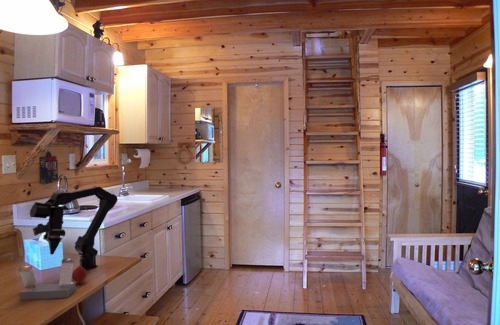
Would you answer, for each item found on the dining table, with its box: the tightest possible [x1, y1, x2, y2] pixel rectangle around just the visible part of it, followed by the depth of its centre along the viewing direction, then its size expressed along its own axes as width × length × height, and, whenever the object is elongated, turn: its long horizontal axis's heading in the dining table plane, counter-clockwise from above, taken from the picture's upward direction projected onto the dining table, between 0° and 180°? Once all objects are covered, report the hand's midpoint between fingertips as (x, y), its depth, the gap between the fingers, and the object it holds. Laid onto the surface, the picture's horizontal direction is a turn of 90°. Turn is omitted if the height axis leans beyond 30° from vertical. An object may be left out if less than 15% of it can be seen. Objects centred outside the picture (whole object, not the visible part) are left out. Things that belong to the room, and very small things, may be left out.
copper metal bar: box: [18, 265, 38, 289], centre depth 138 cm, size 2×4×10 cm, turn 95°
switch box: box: [18, 281, 77, 301], centre depth 140 cm, size 8×18×3 cm, turn 95°
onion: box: [72, 264, 88, 284], centre depth 152 cm, size 6×6×8 cm
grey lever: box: [58, 258, 75, 285], centre depth 142 cm, size 2×4×10 cm, turn 94°
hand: (51, 254), depth 155 cm, fingers closed
